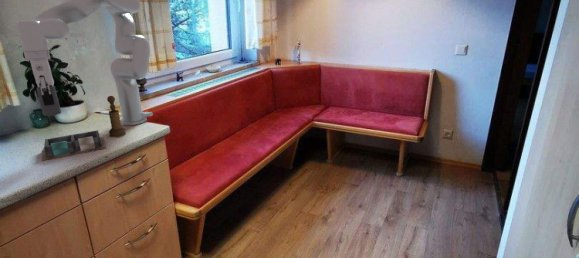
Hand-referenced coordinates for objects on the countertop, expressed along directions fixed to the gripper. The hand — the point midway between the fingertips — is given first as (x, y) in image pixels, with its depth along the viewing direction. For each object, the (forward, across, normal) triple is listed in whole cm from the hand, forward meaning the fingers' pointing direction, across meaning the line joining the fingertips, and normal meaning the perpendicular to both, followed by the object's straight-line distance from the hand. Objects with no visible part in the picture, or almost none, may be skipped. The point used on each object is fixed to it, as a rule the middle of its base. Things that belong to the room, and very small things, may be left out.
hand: (49, 102), depth 132 cm
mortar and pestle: (+21, +8, -22) cm, 31 cm away
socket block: (+20, 0, -4) cm, 21 cm away
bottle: (+5, 0, 0) cm, 5 cm away
